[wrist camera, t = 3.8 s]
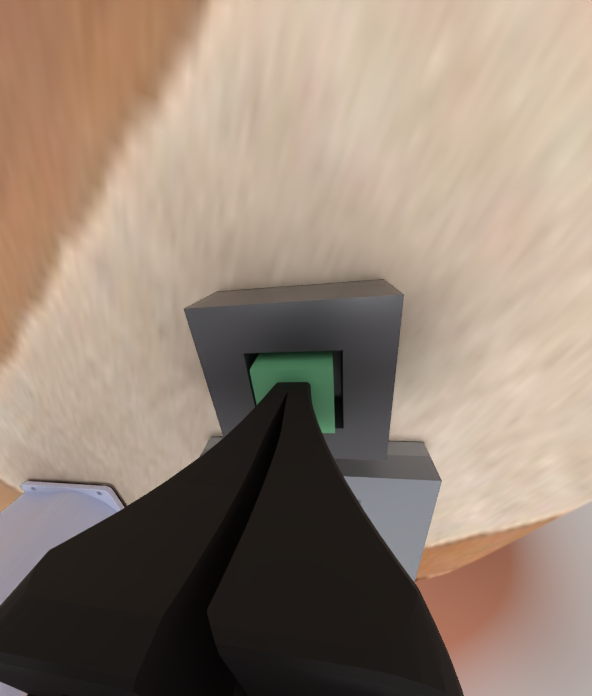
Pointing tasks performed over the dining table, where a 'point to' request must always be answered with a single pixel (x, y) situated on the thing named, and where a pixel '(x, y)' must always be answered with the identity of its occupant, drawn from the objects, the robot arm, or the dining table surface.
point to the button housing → (307, 335)
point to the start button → (299, 379)
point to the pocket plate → (394, 496)
